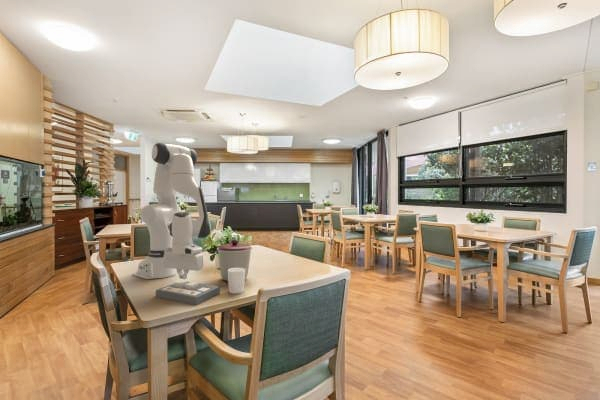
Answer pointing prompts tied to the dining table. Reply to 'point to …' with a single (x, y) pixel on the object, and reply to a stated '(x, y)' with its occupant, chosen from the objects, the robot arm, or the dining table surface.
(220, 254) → the canister
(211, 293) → the button panel
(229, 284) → the white cup
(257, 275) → the dining table surface
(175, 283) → the button
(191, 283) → the middle button
